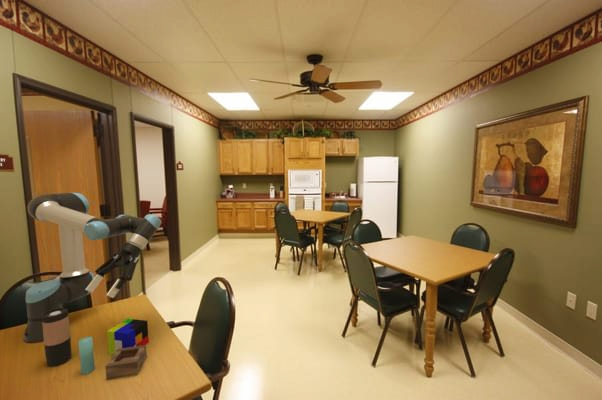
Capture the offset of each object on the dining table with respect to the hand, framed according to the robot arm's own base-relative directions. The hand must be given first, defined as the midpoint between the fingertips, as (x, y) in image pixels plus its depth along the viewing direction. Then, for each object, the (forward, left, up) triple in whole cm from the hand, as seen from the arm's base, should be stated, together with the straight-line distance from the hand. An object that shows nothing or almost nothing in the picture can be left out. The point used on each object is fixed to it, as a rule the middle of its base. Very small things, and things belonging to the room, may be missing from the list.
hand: (98, 293), depth 103 cm
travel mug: (-4, -17, -27) cm, 32 cm away
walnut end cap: (+7, +11, -27) cm, 30 cm away
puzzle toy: (-6, +7, -27) cm, 29 cm away
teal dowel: (+5, -3, -27) cm, 28 cm away
